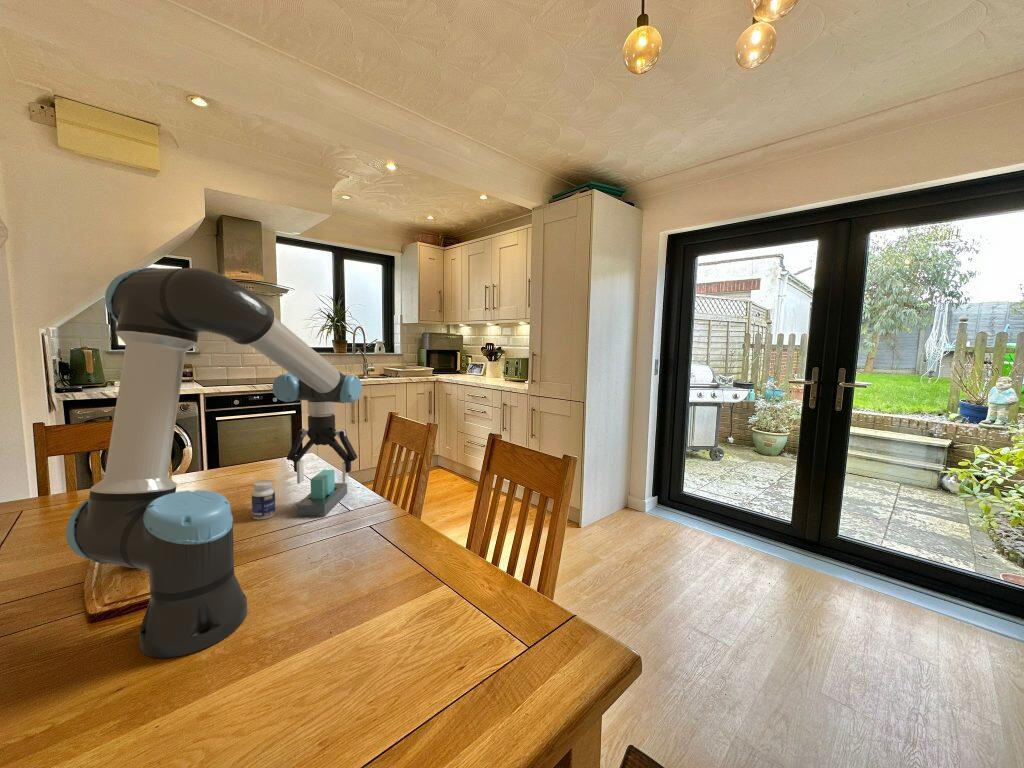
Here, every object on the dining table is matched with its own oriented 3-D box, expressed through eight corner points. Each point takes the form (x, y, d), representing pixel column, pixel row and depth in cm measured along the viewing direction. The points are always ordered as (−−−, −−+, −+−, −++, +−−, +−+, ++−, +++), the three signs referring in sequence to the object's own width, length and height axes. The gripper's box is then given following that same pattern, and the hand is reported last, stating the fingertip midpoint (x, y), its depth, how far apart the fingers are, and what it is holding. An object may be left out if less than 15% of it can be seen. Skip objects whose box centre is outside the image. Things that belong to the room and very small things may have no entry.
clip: (323, 508, 122) (322, 479, 121) (311, 508, 122) (310, 479, 121) (334, 497, 131) (334, 469, 130) (323, 496, 130) (323, 469, 129)
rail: (324, 516, 117) (324, 505, 117) (296, 516, 117) (296, 504, 117) (347, 493, 135) (347, 483, 135) (322, 493, 135) (322, 482, 134)
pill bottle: (267, 520, 114) (266, 486, 113) (247, 520, 114) (246, 485, 113) (279, 512, 120) (278, 479, 119) (260, 511, 120) (259, 478, 119)
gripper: (367, 412, 127) (367, 478, 130) (285, 411, 126) (287, 477, 129) (359, 417, 120) (360, 487, 122) (272, 415, 119) (275, 486, 121)
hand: (323, 482), depth 125 cm, fingers open, 13 cm apart
